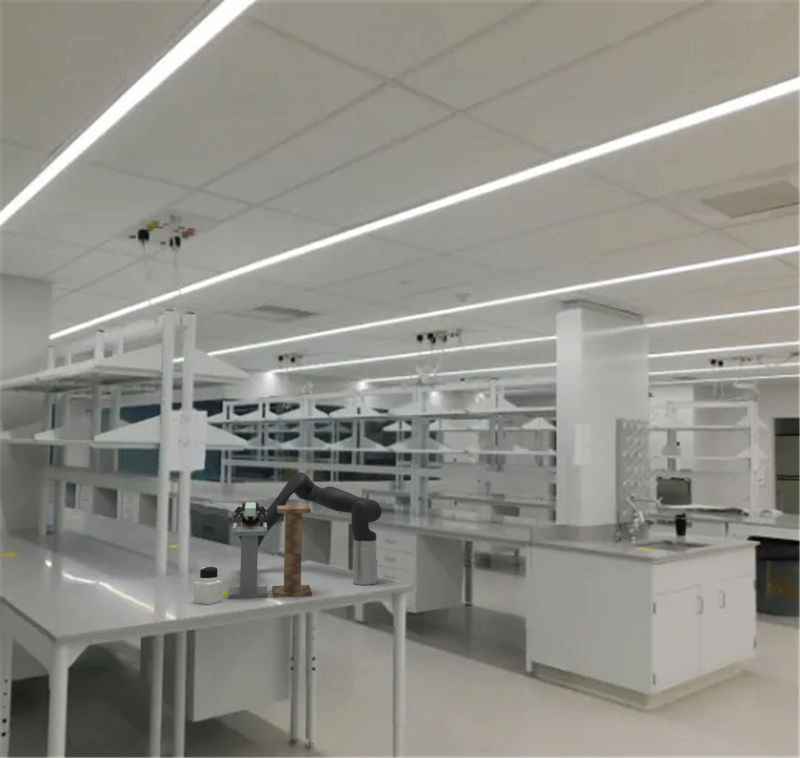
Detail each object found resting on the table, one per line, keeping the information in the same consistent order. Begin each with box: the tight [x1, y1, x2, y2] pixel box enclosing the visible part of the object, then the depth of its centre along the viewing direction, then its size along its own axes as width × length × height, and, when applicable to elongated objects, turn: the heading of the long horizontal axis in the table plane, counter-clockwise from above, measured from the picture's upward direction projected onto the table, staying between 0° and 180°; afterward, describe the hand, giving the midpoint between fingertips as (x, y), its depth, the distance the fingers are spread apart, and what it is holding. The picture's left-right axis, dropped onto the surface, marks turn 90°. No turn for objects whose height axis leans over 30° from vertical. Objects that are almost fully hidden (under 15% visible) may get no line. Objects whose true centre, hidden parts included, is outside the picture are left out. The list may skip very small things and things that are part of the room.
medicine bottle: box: [193, 566, 223, 606], centre depth 262 cm, size 7×7×12 cm
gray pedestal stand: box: [228, 522, 269, 600], centre depth 276 cm, size 14×16×26 cm
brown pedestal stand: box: [271, 504, 313, 598], centre depth 280 cm, size 14×16×32 cm
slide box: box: [245, 501, 257, 516], centre depth 290 cm, size 4×26×3 cm, turn 11°
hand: (250, 504), depth 294 cm, fingers closed on slide box, 4 cm apart
